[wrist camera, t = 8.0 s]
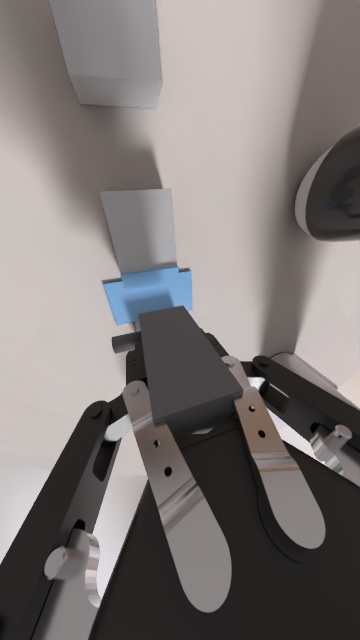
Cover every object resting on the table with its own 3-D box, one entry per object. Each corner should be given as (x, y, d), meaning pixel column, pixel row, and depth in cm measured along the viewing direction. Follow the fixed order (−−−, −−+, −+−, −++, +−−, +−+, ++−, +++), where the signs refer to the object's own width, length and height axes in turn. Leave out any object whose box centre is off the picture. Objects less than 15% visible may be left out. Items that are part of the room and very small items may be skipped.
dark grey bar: (183, 305, 14) (243, 389, 7) (185, 340, 17) (234, 434, 9) (108, 319, 13) (84, 442, 6) (120, 355, 15) (115, 479, 8)
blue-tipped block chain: (180, 27, 12) (197, -37, 9) (192, 331, 27) (200, 344, 24) (10, -1, 10) (-39, -95, 7) (124, 346, 24) (123, 363, 22)
